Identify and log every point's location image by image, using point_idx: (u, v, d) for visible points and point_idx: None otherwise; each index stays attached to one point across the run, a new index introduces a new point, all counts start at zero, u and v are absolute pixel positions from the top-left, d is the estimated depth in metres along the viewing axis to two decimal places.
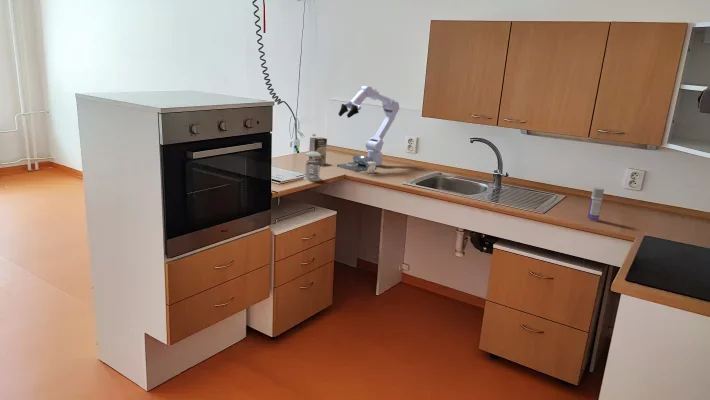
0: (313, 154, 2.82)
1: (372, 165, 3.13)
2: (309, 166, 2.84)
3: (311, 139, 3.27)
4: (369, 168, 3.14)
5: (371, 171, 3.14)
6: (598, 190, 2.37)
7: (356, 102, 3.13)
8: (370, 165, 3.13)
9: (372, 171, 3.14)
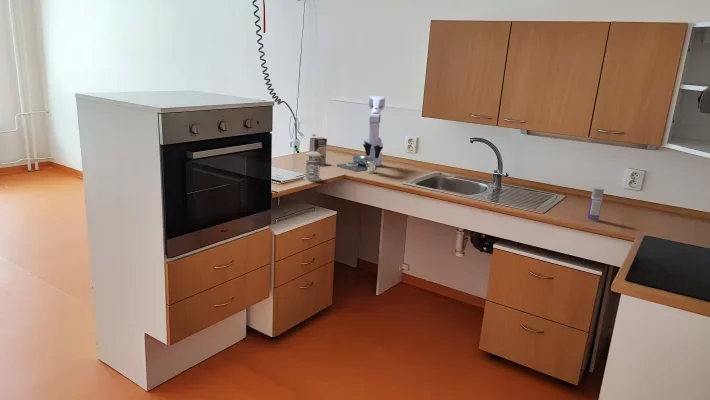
0: (313, 154, 2.82)
1: (372, 165, 3.13)
2: (309, 166, 2.84)
3: (311, 139, 3.27)
4: (369, 168, 3.14)
5: (371, 171, 3.14)
6: (598, 190, 2.37)
7: (375, 139, 3.09)
8: (370, 165, 3.13)
9: (372, 171, 3.14)
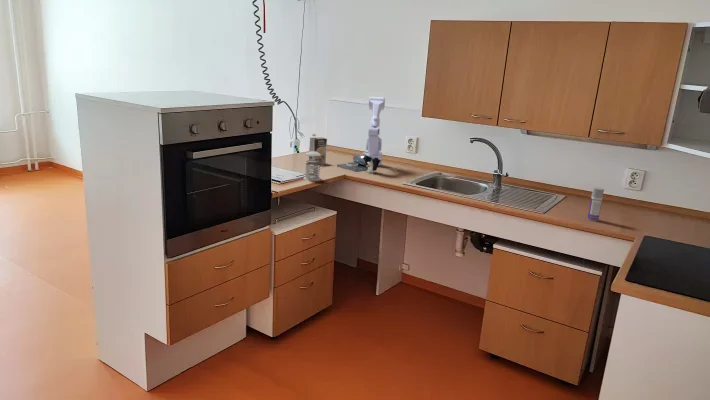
0: (313, 154, 2.82)
1: (372, 165, 3.13)
2: (309, 166, 2.84)
3: (311, 139, 3.27)
4: (369, 168, 3.14)
5: (371, 171, 3.14)
6: (598, 190, 2.37)
7: (374, 152, 3.11)
8: (370, 165, 3.13)
9: (372, 171, 3.14)
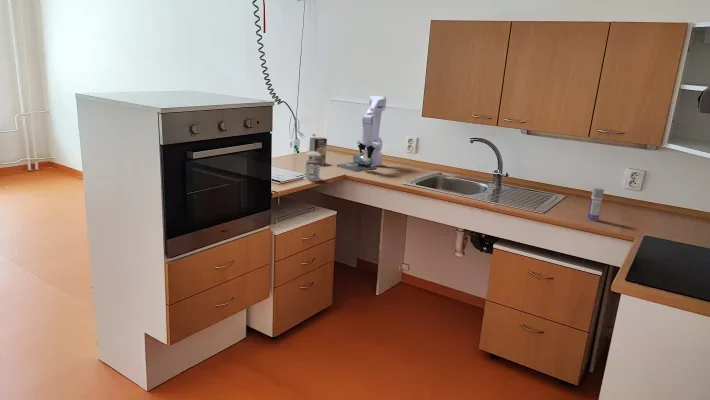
0: (313, 154, 2.82)
1: (367, 153, 3.15)
2: (309, 166, 2.84)
3: (311, 139, 3.27)
4: (364, 156, 3.15)
5: (366, 159, 3.15)
6: (598, 190, 2.37)
7: (368, 139, 3.12)
8: (365, 153, 3.15)
9: (367, 159, 3.15)
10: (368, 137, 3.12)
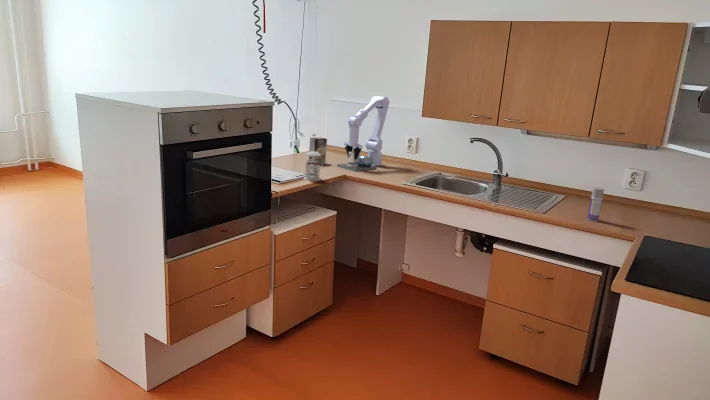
0: (313, 154, 2.82)
1: (353, 154, 3.21)
2: (309, 166, 2.84)
3: (311, 139, 3.27)
4: (350, 157, 3.22)
5: (353, 161, 3.22)
6: (598, 190, 2.37)
7: (355, 141, 3.19)
8: (351, 154, 3.21)
9: (353, 160, 3.22)
10: (354, 139, 3.18)
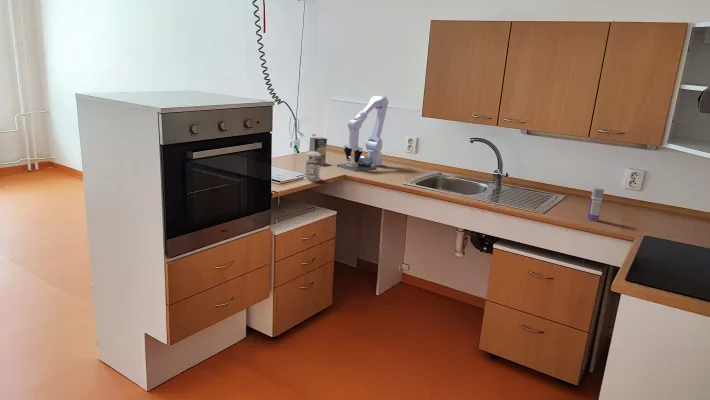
0: (313, 154, 2.82)
1: (353, 159, 3.22)
2: (309, 166, 2.84)
3: (311, 139, 3.27)
4: (350, 162, 3.23)
5: None
6: (598, 190, 2.37)
7: (354, 144, 3.19)
8: (351, 159, 3.22)
9: None
10: (354, 141, 3.19)
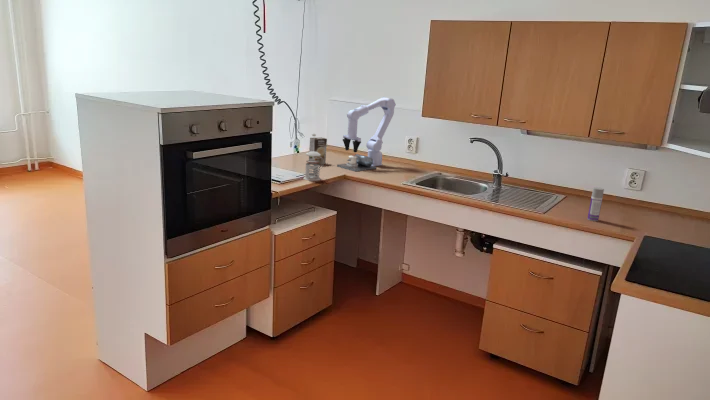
0: (313, 154, 2.82)
1: (353, 159, 3.22)
2: (309, 166, 2.84)
3: (311, 139, 3.27)
4: (350, 162, 3.23)
5: None
6: (598, 190, 2.37)
7: (353, 134, 3.23)
8: (351, 159, 3.22)
9: None
10: (353, 132, 3.23)
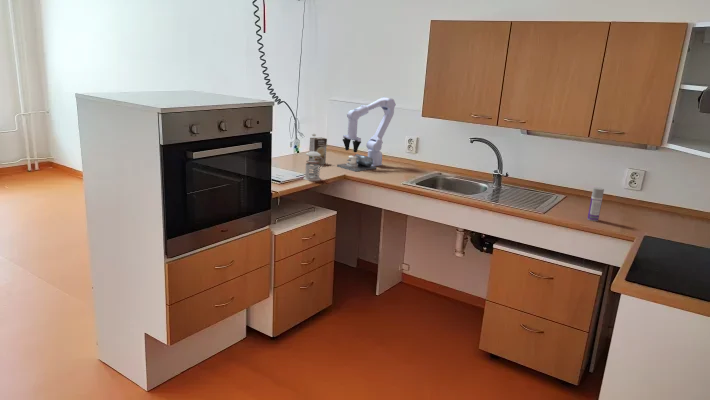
0: (313, 154, 2.82)
1: (353, 159, 3.22)
2: (309, 166, 2.84)
3: (311, 139, 3.27)
4: (350, 162, 3.23)
5: None
6: (598, 190, 2.37)
7: (353, 134, 3.23)
8: (351, 159, 3.22)
9: None
10: (353, 132, 3.23)
